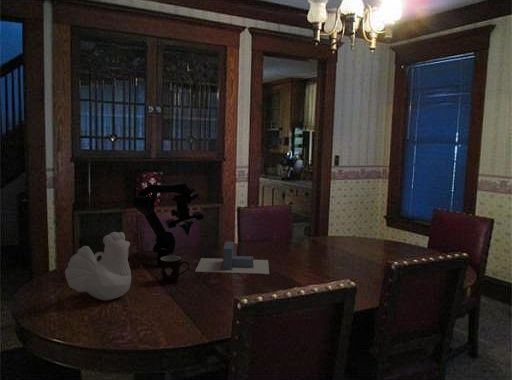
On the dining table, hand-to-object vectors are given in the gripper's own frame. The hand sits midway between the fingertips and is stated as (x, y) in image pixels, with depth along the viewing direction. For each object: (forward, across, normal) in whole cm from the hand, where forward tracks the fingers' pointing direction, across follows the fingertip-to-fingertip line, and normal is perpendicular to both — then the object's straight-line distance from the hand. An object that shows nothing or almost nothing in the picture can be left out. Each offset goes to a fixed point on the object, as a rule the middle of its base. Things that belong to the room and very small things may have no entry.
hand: (187, 235), depth 217 cm
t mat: (+12, -13, +25) cm, 30 cm away
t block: (+12, -15, +26) cm, 32 cm away
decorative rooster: (-2, +50, +40) cm, 64 cm away
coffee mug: (+4, +20, +34) cm, 40 cm away
